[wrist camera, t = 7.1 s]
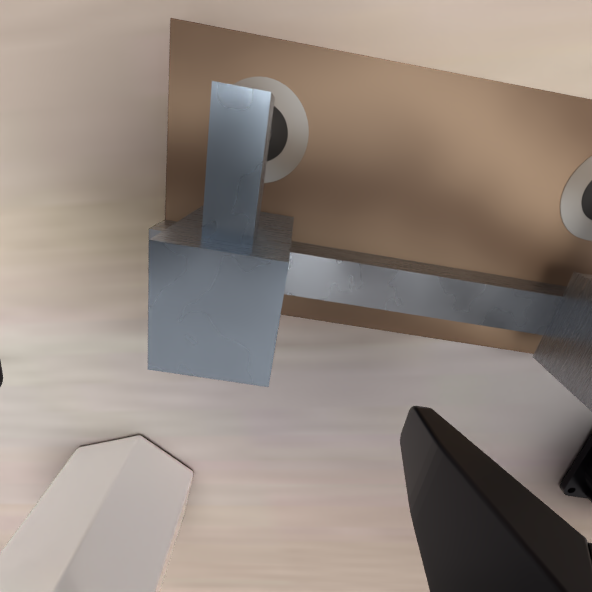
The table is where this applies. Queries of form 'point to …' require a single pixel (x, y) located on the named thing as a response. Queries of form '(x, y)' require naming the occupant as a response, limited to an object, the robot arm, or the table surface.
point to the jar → (101, 523)
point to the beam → (455, 300)
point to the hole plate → (396, 166)
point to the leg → (223, 256)
